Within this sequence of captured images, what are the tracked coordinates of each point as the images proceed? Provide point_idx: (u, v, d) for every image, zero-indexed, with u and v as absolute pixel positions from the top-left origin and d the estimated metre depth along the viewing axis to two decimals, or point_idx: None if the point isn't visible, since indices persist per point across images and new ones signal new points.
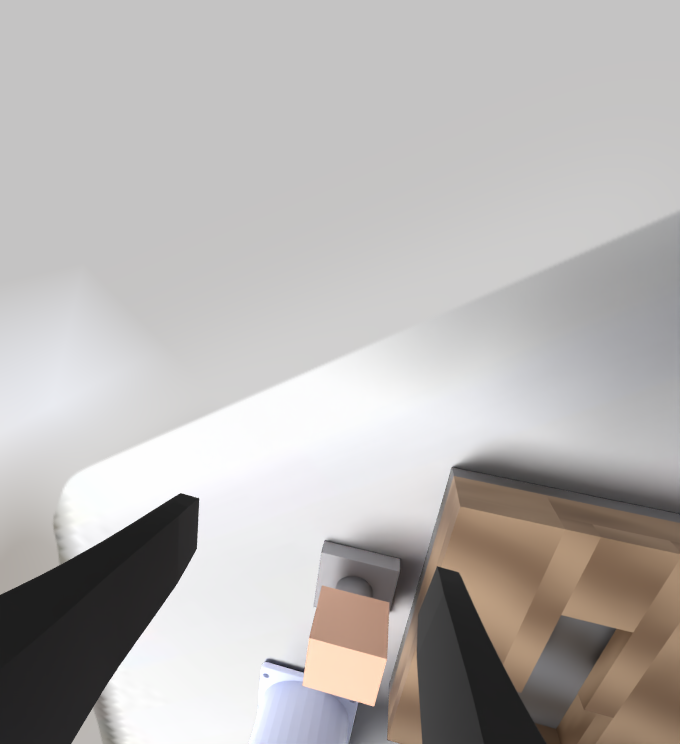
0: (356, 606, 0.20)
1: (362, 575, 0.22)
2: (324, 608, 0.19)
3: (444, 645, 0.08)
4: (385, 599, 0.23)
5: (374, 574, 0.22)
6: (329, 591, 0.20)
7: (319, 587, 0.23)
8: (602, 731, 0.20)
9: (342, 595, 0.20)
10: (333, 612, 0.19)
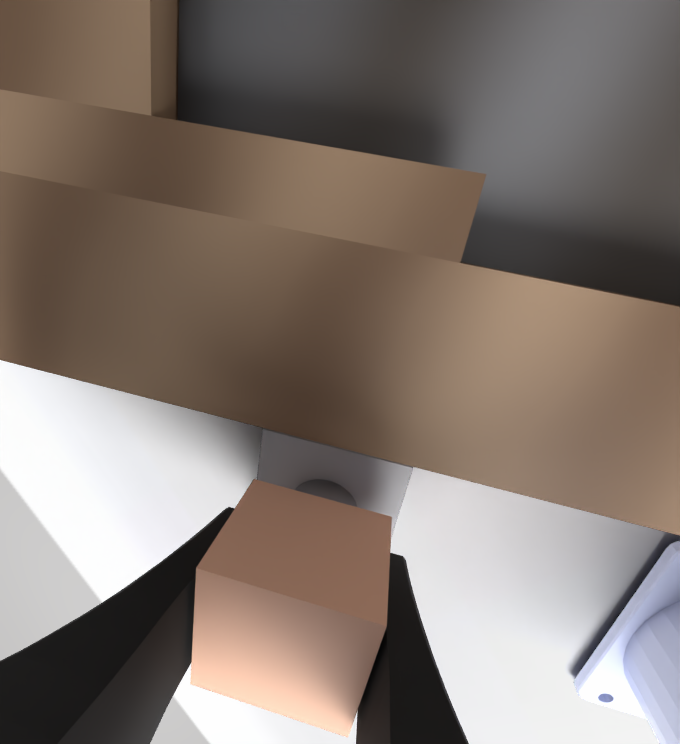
0: None
1: None
2: None
3: None
4: (338, 460, 0.11)
5: (279, 471, 0.12)
6: None
7: None
8: None
9: None
10: None
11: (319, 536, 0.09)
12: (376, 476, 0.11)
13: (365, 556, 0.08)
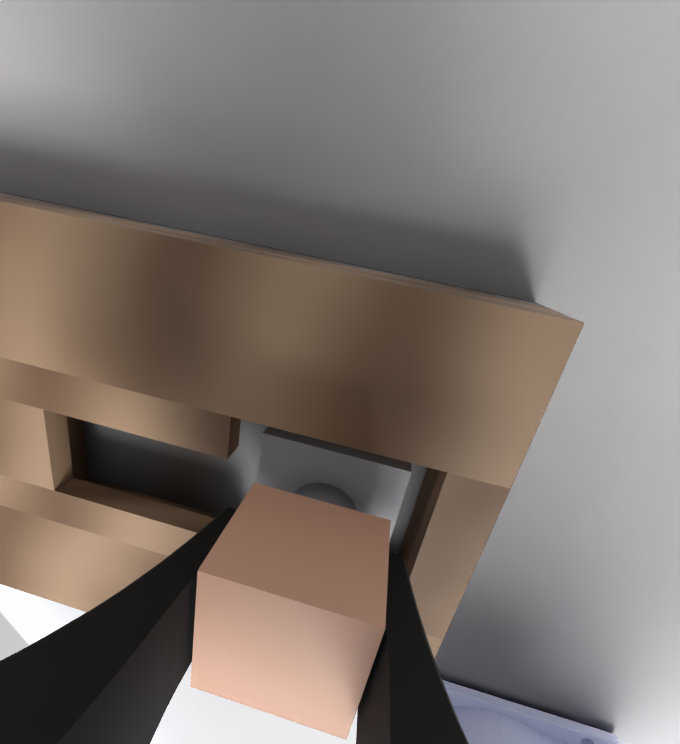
0: None
1: None
2: None
3: None
4: (337, 464, 0.12)
5: (279, 474, 0.12)
6: None
7: None
8: (280, 427, 0.10)
9: None
10: None
11: (318, 539, 0.09)
12: (375, 480, 0.12)
13: (364, 559, 0.08)
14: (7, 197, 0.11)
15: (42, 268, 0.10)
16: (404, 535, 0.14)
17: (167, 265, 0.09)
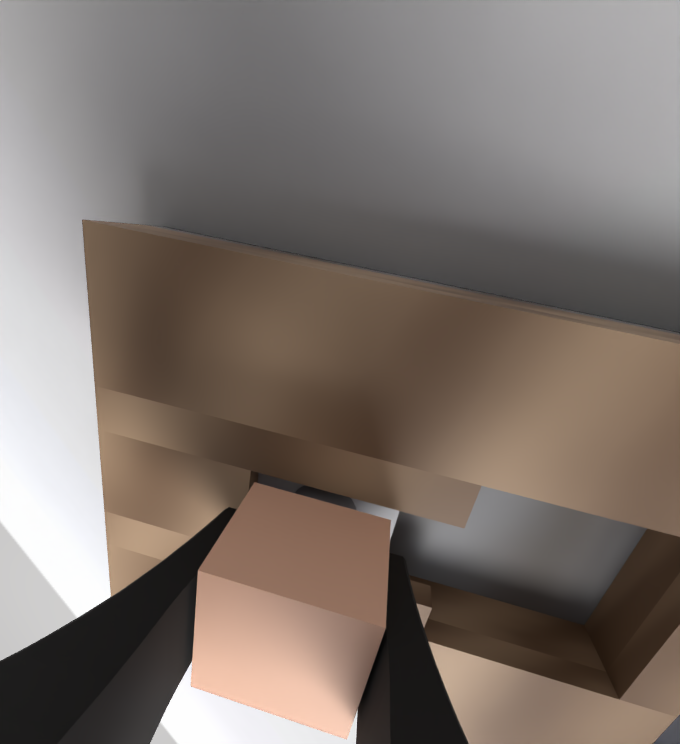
0: None
1: None
2: None
3: None
4: None
5: None
6: None
7: None
8: (537, 497, 0.10)
9: None
10: None
11: (318, 539, 0.09)
12: None
13: (364, 559, 0.08)
14: (222, 243, 0.10)
15: (290, 327, 0.09)
16: (603, 594, 0.13)
17: (447, 328, 0.08)
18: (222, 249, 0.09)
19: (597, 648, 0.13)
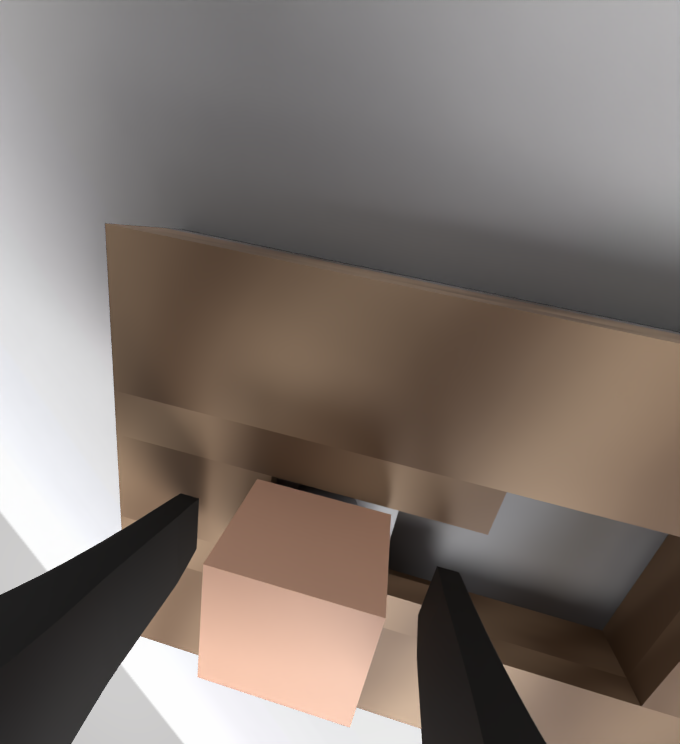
0: None
1: None
2: None
3: (444, 645, 0.08)
4: None
5: None
6: None
7: None
8: (563, 504, 0.09)
9: None
10: None
11: (320, 533, 0.09)
12: None
13: (365, 552, 0.09)
14: (243, 246, 0.10)
15: (315, 332, 0.09)
16: (622, 600, 0.13)
17: (476, 334, 0.08)
18: (248, 253, 0.09)
19: (616, 654, 0.13)
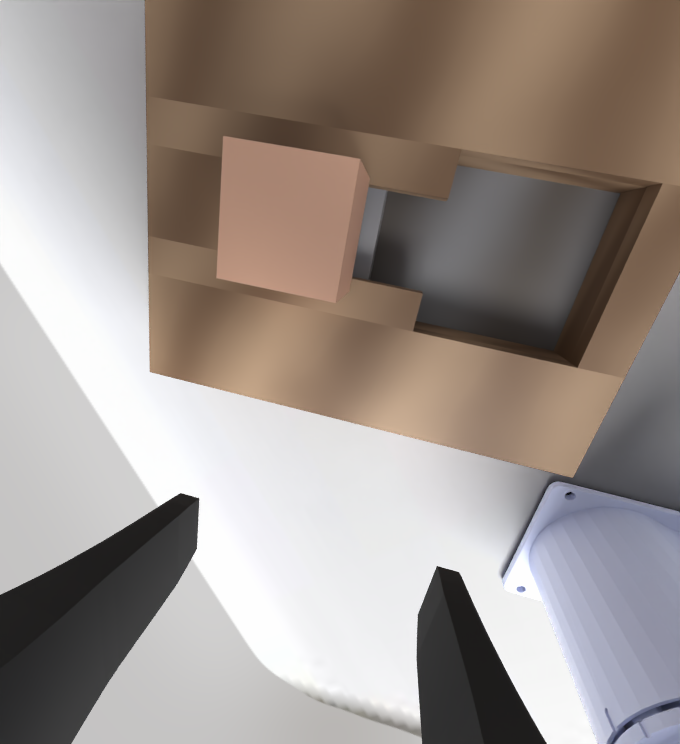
0: None
1: None
2: None
3: (444, 646, 0.08)
4: None
5: None
6: None
7: None
8: (506, 156, 0.12)
9: None
10: None
11: None
12: None
13: None
14: None
15: (308, 6, 0.11)
16: (568, 314, 0.15)
17: None
18: None
19: (563, 356, 0.15)
